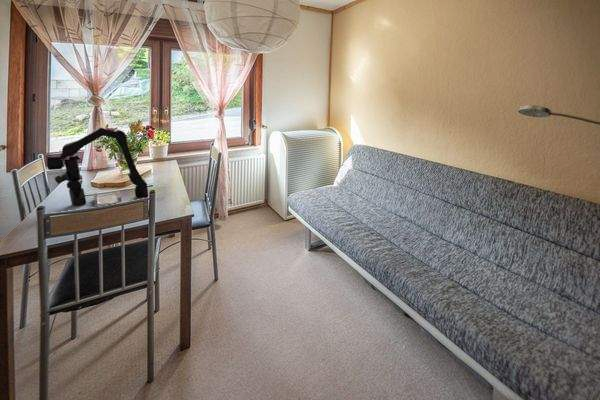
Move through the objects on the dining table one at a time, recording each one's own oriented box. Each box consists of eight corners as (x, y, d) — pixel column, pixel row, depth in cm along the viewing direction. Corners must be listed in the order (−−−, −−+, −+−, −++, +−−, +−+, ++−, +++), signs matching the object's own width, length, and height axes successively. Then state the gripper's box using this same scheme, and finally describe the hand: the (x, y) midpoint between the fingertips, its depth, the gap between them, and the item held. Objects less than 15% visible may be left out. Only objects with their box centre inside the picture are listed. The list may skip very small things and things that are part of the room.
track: (120, 196, 201) (119, 190, 200) (121, 203, 189) (121, 197, 188) (94, 199, 195) (93, 193, 194) (94, 206, 183) (93, 200, 182)
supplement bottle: (83, 201, 191) (79, 180, 187) (88, 204, 187) (84, 183, 183) (69, 204, 186) (65, 183, 182) (74, 207, 182) (70, 185, 178)
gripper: (55, 166, 184) (61, 193, 189) (52, 173, 168) (58, 203, 173) (79, 164, 189) (84, 191, 194) (78, 171, 174) (83, 200, 179)
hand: (77, 196), depth 185 cm, fingers closed on supplement bottle, 7 cm apart
